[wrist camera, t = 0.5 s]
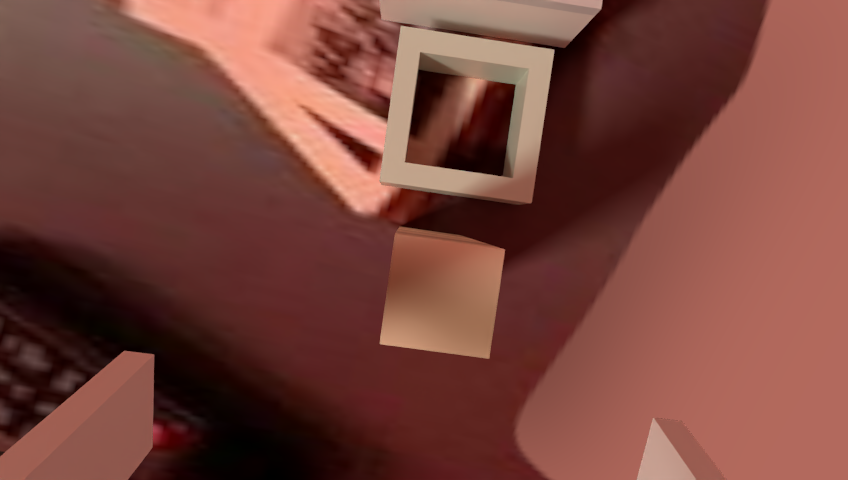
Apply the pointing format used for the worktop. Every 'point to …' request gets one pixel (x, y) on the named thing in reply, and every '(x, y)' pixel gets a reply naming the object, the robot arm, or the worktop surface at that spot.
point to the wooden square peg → (442, 293)
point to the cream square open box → (479, 62)
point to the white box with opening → (499, 17)
